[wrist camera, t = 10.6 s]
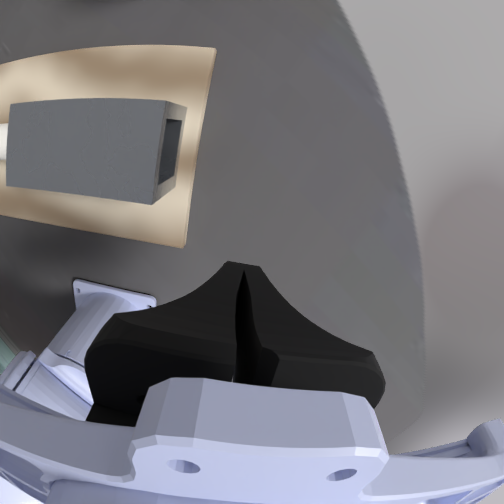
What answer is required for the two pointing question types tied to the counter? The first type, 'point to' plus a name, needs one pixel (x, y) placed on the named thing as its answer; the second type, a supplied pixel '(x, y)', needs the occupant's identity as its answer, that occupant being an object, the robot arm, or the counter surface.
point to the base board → (113, 86)
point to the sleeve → (96, 147)
